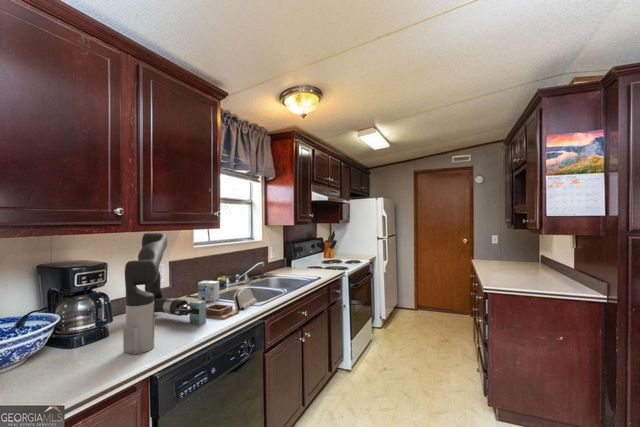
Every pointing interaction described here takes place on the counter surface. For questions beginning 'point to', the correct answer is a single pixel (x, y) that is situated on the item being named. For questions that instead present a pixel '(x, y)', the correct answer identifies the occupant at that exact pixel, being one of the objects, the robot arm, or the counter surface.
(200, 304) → the grey-green block
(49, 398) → the counter surface
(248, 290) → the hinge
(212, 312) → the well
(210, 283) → the light bulb box
